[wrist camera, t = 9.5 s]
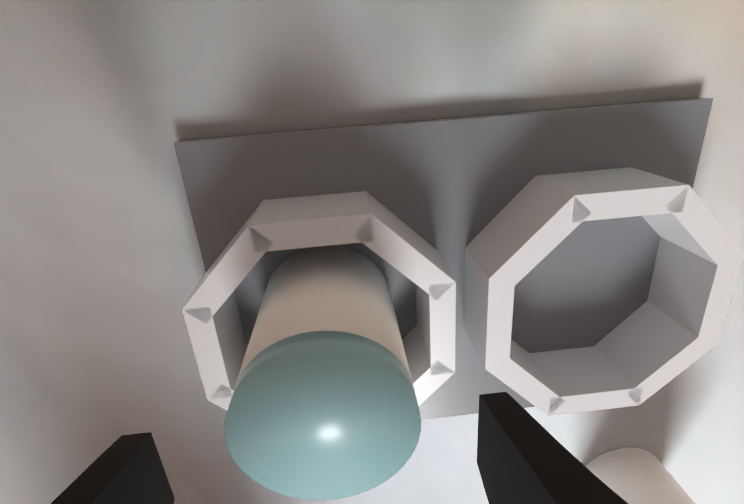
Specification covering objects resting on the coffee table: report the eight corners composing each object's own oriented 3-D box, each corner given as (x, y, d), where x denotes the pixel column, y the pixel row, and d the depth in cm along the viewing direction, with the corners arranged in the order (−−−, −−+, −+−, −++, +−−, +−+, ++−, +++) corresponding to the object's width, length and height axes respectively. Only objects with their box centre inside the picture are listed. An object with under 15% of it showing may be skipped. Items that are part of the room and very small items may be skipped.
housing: (249, 430, 18) (234, 494, 15) (179, 140, 13) (138, 157, 10) (637, 385, 19) (690, 439, 16) (700, 97, 14) (790, 103, 11)
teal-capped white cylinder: (275, 360, 16) (245, 510, 11) (254, 251, 14) (204, 363, 9) (393, 347, 16) (423, 487, 11) (386, 239, 15) (418, 340, 9)
